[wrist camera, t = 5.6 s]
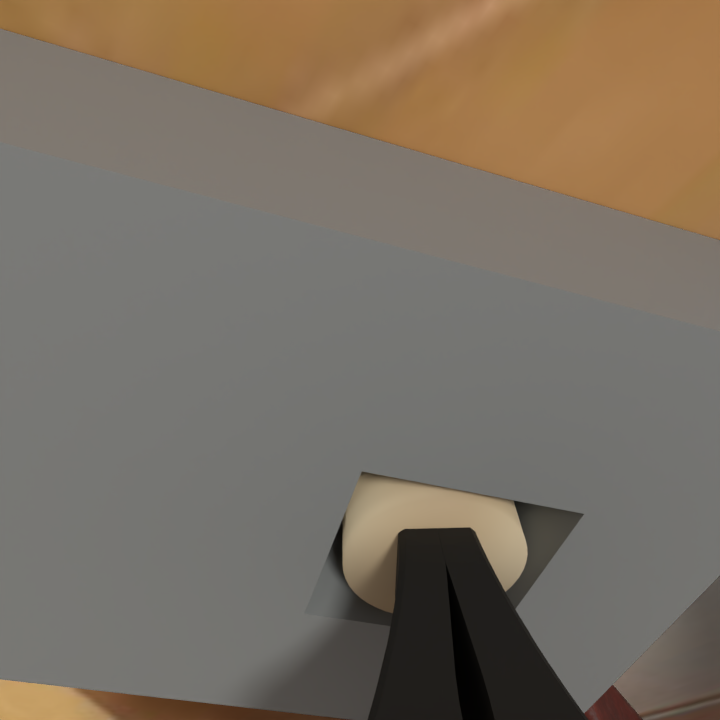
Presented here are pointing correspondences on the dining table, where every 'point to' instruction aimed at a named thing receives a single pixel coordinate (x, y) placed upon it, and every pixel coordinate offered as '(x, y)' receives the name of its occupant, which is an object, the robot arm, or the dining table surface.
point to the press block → (321, 391)
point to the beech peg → (416, 511)
